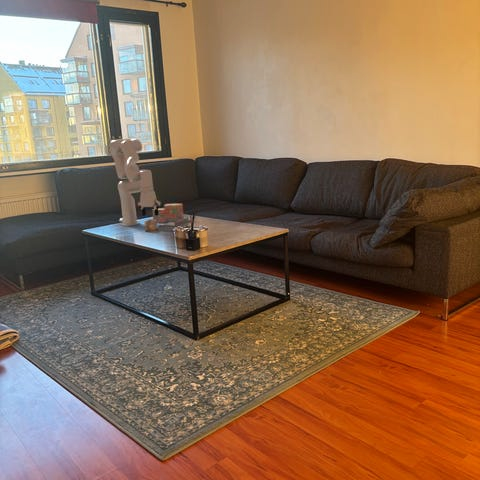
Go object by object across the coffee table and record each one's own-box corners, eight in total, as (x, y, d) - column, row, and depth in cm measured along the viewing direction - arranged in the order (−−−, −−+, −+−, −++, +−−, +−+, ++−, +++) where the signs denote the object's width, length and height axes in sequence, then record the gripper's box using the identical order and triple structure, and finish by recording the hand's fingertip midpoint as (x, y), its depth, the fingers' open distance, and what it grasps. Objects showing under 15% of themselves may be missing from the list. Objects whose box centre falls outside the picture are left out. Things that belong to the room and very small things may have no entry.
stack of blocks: (153, 222, 353) (151, 205, 350) (155, 221, 359) (154, 204, 356) (182, 221, 350) (180, 204, 347) (184, 219, 356) (182, 203, 353)
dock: (158, 230, 324) (157, 222, 323) (171, 225, 338) (170, 217, 337) (176, 230, 318) (176, 222, 317) (188, 225, 333) (188, 217, 331)
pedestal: (145, 231, 322) (144, 221, 321) (150, 229, 328) (149, 219, 326) (153, 232, 320) (151, 221, 318) (158, 230, 325) (156, 219, 324)
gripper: (133, 190, 318) (136, 216, 321) (155, 189, 311) (158, 216, 314) (139, 189, 324) (142, 214, 328) (161, 188, 317) (164, 214, 321)
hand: (150, 215), depth 321 cm, fingers open, 9 cm apart
